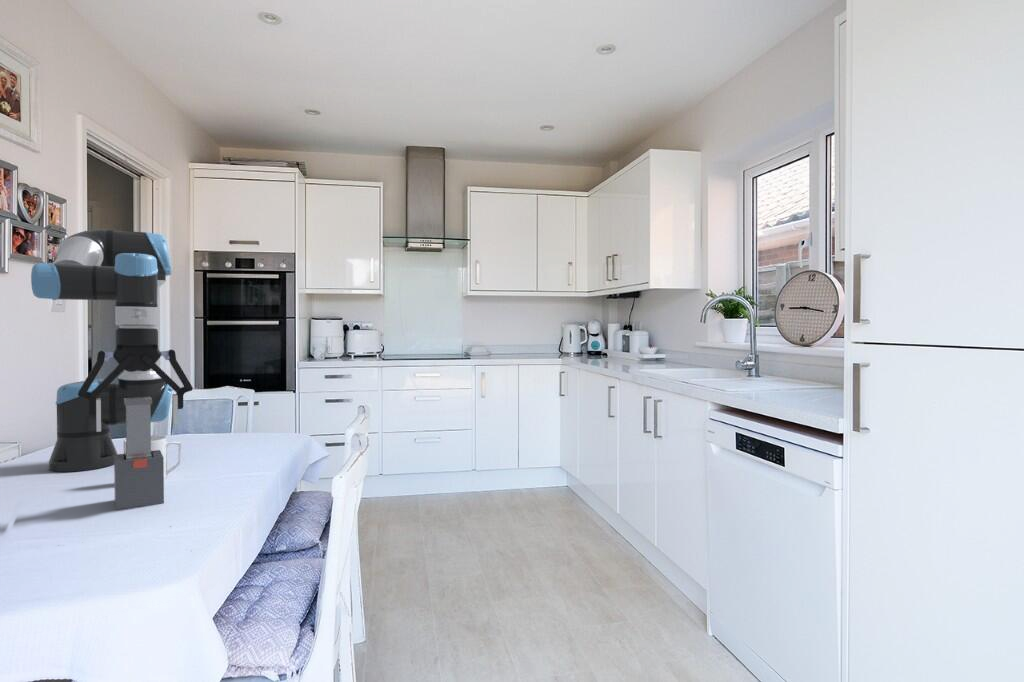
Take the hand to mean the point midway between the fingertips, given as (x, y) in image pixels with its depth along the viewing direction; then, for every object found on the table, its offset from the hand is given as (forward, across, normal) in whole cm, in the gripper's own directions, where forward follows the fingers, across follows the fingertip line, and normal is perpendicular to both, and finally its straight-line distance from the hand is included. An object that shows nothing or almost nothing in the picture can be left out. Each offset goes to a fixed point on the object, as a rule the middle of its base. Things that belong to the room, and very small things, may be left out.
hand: (138, 427), depth 122 cm
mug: (+17, +4, +20) cm, 27 cm away
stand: (+17, 0, 0) cm, 17 cm away
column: (+16, 0, 0) cm, 16 cm away
